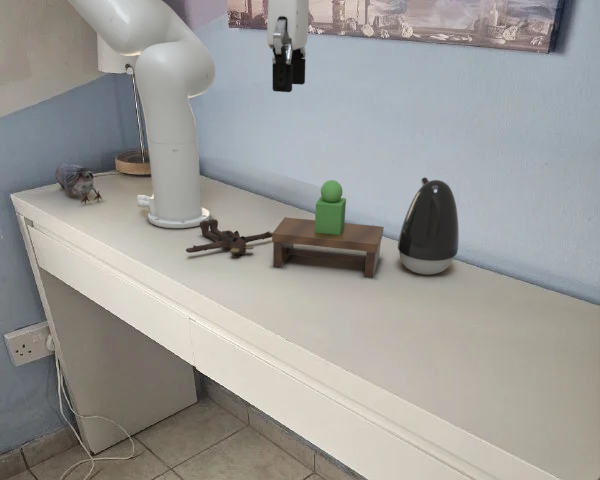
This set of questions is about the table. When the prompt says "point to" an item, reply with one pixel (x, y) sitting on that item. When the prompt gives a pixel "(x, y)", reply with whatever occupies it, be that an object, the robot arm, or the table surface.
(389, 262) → the table surface
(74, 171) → the bird
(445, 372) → the table surface
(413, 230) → the pump dispenser
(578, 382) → the table surface
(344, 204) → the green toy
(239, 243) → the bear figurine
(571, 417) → the table surface
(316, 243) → the bench
